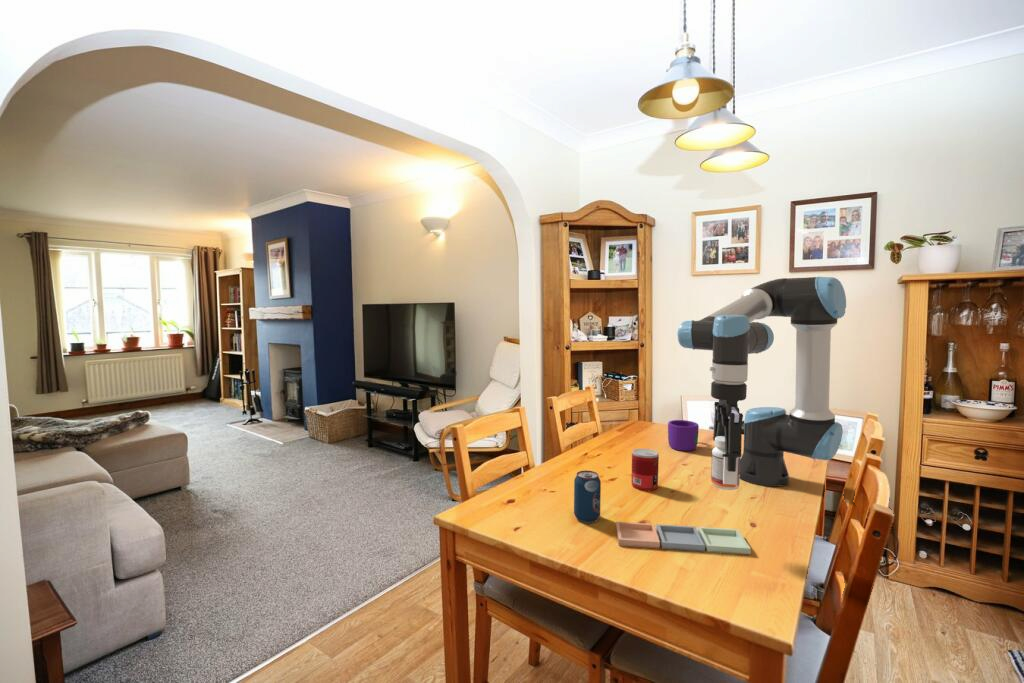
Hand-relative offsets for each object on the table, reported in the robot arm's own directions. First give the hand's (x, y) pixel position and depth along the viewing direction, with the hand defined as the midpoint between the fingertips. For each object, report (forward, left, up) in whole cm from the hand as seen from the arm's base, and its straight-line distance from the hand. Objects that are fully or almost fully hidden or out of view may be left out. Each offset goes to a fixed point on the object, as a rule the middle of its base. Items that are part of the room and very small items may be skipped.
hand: (725, 478), depth 114 cm
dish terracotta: (+20, 0, -16) cm, 25 cm away
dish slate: (+10, 0, -16) cm, 19 cm away
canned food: (+14, -34, -16) cm, 40 cm away
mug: (-7, -80, -16) cm, 82 cm away
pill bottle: (0, 0, -2) cm, 2 cm away
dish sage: (0, 0, -16) cm, 16 cm away
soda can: (+32, -9, -16) cm, 37 cm away
